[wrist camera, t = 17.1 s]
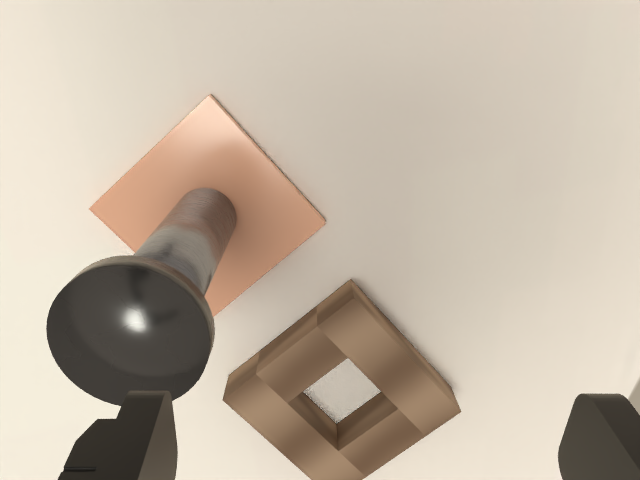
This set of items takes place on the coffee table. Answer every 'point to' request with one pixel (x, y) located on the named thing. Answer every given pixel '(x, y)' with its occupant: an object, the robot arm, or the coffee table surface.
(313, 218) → the pad
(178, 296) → the peg
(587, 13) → the coffee table surface
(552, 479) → the coffee table surface
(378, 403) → the collar
